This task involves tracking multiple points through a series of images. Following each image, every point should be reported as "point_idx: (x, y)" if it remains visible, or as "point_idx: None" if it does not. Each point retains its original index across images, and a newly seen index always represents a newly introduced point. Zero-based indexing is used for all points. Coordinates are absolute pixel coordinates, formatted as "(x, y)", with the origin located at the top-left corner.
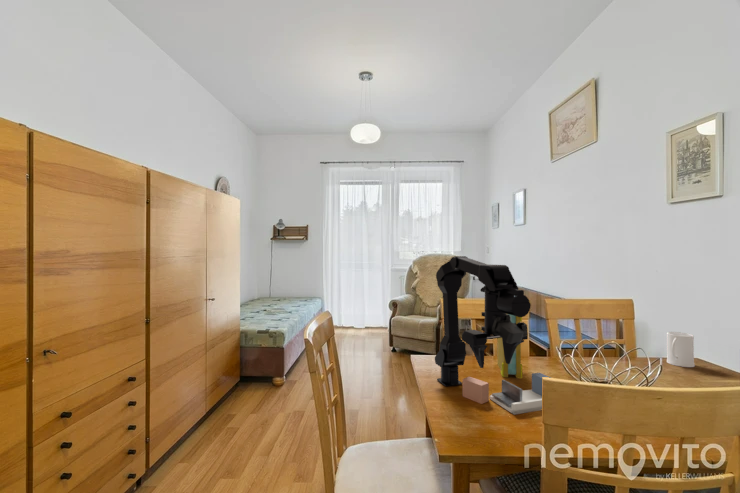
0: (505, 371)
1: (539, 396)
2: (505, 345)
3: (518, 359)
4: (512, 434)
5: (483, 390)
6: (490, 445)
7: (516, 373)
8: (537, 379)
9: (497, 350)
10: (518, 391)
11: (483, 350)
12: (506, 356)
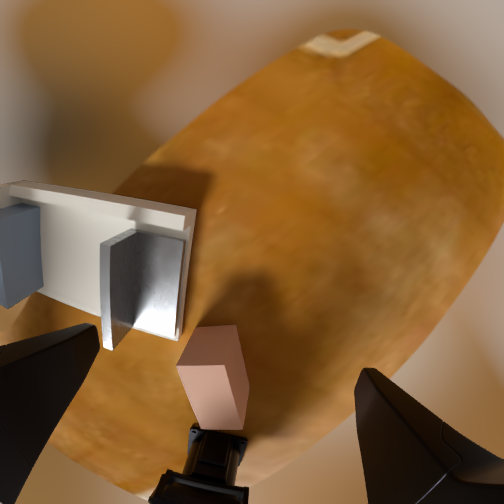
0: None
1: (47, 248)
2: (22, 444)
3: None
4: (324, 112)
5: (216, 351)
6: (432, 115)
7: None
8: (11, 280)
9: None
10: (116, 251)
11: (467, 475)
12: (70, 374)
